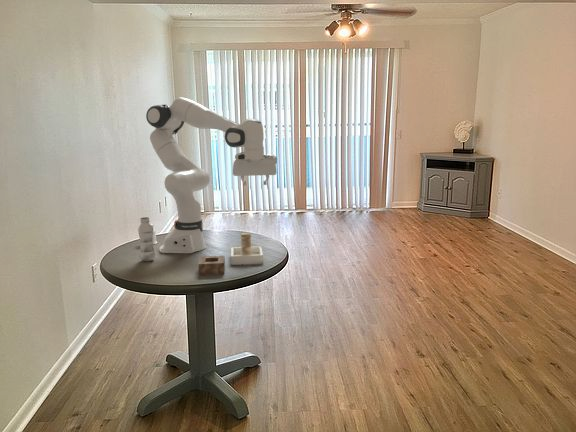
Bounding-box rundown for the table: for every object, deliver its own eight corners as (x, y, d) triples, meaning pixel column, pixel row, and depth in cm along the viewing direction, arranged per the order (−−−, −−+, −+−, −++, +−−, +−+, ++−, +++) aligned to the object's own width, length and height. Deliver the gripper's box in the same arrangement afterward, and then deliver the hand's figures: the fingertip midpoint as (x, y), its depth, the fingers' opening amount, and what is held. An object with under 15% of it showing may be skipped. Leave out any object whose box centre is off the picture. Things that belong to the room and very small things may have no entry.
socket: (199, 275, 197) (198, 264, 196) (200, 267, 208) (200, 256, 206) (224, 274, 198) (223, 263, 197) (224, 266, 209) (224, 255, 207)
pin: (241, 259, 215) (241, 235, 213) (241, 256, 220) (240, 233, 217) (251, 258, 216) (250, 235, 213) (251, 255, 220) (250, 232, 218)
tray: (231, 264, 211) (231, 256, 210) (231, 255, 224) (231, 247, 223) (262, 263, 212) (262, 255, 211) (261, 254, 226) (261, 246, 225)
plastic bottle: (141, 258, 220) (138, 216, 216) (156, 258, 221) (153, 216, 216) (138, 263, 214) (135, 220, 210) (154, 262, 215) (150, 219, 210)
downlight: (160, 243, 245) (158, 224, 243) (147, 246, 241) (145, 226, 239) (153, 241, 251) (151, 222, 249) (140, 243, 247) (139, 224, 245)
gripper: (276, 154, 222) (276, 183, 225) (232, 154, 220) (233, 184, 223) (277, 155, 215) (277, 185, 218) (231, 156, 214) (232, 186, 217)
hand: (254, 185), depth 221 cm, fingers open, 8 cm apart
